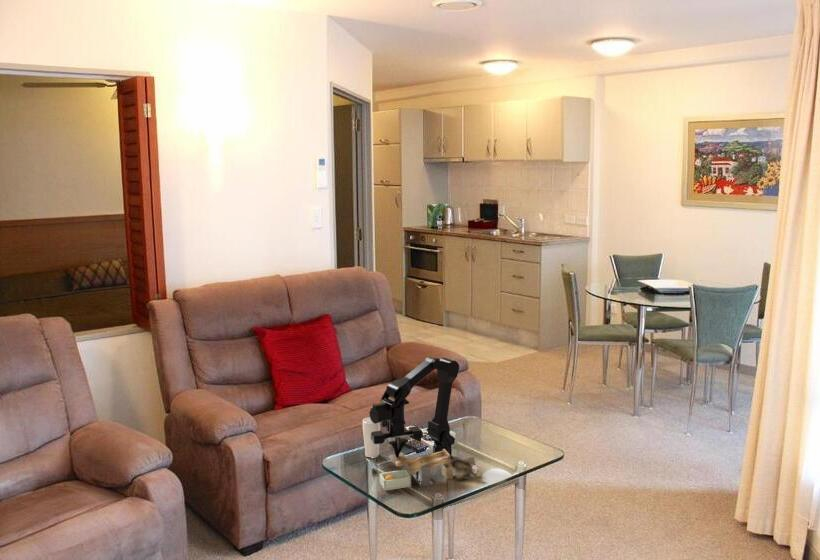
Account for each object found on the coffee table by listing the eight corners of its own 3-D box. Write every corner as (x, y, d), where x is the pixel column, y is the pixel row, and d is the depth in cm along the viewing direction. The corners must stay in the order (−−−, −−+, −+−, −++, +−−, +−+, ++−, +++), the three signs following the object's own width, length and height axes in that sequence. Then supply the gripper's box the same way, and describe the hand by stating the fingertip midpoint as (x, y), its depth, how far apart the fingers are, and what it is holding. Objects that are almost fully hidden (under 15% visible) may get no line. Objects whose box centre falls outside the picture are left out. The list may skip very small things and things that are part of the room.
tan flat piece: (438, 446, 279) (437, 440, 278) (451, 461, 266) (450, 455, 265) (389, 460, 274) (388, 454, 273) (400, 476, 261) (399, 470, 260)
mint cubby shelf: (405, 478, 269) (405, 469, 268) (411, 486, 262) (411, 477, 262) (379, 482, 266) (379, 473, 265) (384, 490, 259) (384, 481, 259)
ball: (394, 478, 265) (389, 471, 264) (396, 481, 262) (391, 475, 261) (387, 483, 265) (382, 477, 264) (389, 487, 262) (384, 481, 261)
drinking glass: (373, 461, 283) (372, 424, 280) (359, 456, 287) (358, 420, 284) (384, 455, 289) (383, 419, 286) (371, 450, 293) (370, 415, 290)
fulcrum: (446, 470, 274) (446, 453, 273) (454, 481, 266) (454, 463, 265) (412, 475, 271) (412, 458, 269) (420, 486, 262) (419, 468, 261)
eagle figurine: (470, 466, 275) (448, 465, 272) (477, 455, 271) (454, 454, 268) (475, 484, 270) (452, 483, 267) (482, 473, 265) (459, 473, 262)
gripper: (414, 406, 279) (414, 445, 282) (366, 412, 274) (367, 451, 277) (423, 417, 269) (423, 456, 272) (374, 422, 263) (374, 463, 266)
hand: (396, 456), depth 272 cm, fingers closed, pressing on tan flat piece
